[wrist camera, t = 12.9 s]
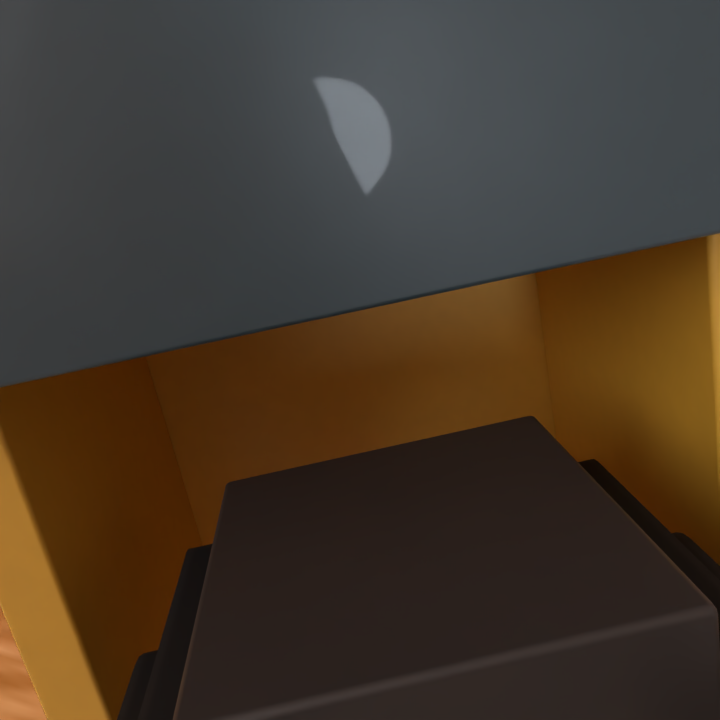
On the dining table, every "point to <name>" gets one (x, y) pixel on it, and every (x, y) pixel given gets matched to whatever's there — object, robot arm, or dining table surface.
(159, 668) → the robot arm
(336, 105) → the cabinet
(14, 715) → the dining table surface
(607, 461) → the yellow drawer
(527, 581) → the block
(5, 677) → the dining table surface
